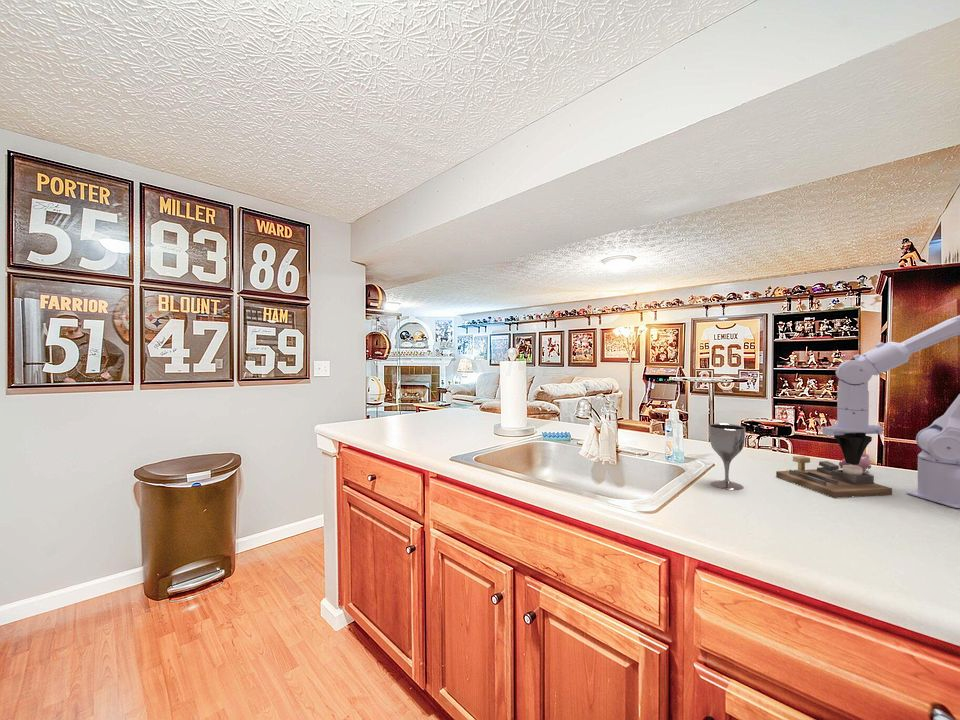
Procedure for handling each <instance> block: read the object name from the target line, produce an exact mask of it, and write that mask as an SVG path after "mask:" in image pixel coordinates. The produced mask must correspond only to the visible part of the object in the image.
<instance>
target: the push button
mask: <svg viewBox="0 0 960 720" xmlns="http://www.w3.org/2000/svg"><path fill="white" fill-rule="evenodd" d="M842 470H843V473H845V474H849V475H852V476H861V475H862V467H859V466H854V465H843V468H842Z"/></svg>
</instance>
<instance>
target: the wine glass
mask: <svg viewBox="0 0 960 720" xmlns="http://www.w3.org/2000/svg"><path fill="white" fill-rule="evenodd" d="M708 437H709V442H710V445H711V448H712V449H713V450H714V452H715V453H716V454H717V455H718V456H719V457H720V459H721V460H722V463H723V466H724V467H723V468H724V480H713V481H711V482H710V485H712V486H713V487H715V488H718V489H723V490H727V491H729V490H730V491H739V490H742V489H744V486H743V485H742V484H740V483H738V482H734V481H730V477H729V475H730V474H729V473H730V466H731V462H732V460H733V459H734V458H736V457H737V456H738V455H739V454H740V453H741V452H742V450H743V448H744V445H745V440H746V427H745V426H743V425H738V424H732V423H711V424H708Z"/></svg>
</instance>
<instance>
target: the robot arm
mask: <svg viewBox="0 0 960 720" xmlns="http://www.w3.org/2000/svg"><path fill="white" fill-rule="evenodd" d="M956 336H960V314H959V315H957V316H954V317H951V318H949V319H946V320H944V321H942V322H939V323H938V324H935V325H934V326H932V327H929V328H927V329H926V330H923V331H922V332H920V333H918V334H915V335H914V336H911V337H910V338H908V339H905V340H904V341H902V342H895V341H888V342H885V343H884V342H883V341H882V342H879V343H877V344H875V347H874V348H872V349H870V350H868V351H866V352H864V353H862V354H859V353H858V354H855V355H853V356H852V357H853V359H849V360H845V361H843V362H841V363H840V364H839V365H838V366H837V368H836V370H835V376H836V378H838V382H837V386H838V388H837V391H836V393H837V394H836V395H837V397H836V398H837V399H836V400H837V402H836V404H837V405H836V406H837V409H836V410H837V411H836V413H837V417H836V420H837V421H836V423H833V425H829V426H822V435H823V436H828V437H834V440H836V442H837V443H838V445H839V447H840V449H841V451H842V453H843V457H844V458H843V459H845V461H846V463H849V464H852V465H859V462H860V459H861V457H862V454H863V453H865V452H864V451H865V450H866V448H867V447H868V445H869V444H870V443H871V442H872V439H873V437H872V436H870V435H873V434H875V435H883V428H884V427H883V426H882V425H875V424H869V422H870V420H869V419H870V417H869V415H870V413H869V411H870V400H869V399H870V391H869V381H870V380H871V378H872V377H873V376H878V375H880V374H884V373H885V372H888V371H890V370H892V369H895V368H897V367H899V366H902V365H904V364H906V363H908V362H909V360H910V357H911V355H913V354H915V353H916V352H919V351H921V350H924V349H926V348H929V347H931V346H934V345H936V344H939V343H941V342H943V341H945V340H949V339H950V338H952V337H956ZM915 442H916V444H917V446H918V447H919V448H920V449H921V451H920V452H919V453H918V454H917V490H907V491H906V494H907V495H911V496H914V497H918V498H921V499H924V500H928V501H931V502H934V503H937V504H941V505H945V506H948V507H951V508H955V509H960V393H959V394H958V395H957V397H956V398H955V399H954V400H953V401H952V403H951V404H950V406H948V408H947V409H946V411H945V412H944V414H942V415H941V416H940V417H937V418H936V419H935V420H933V422H932V423H931V424H930V425H929V426H927V427H924V428H923V429H921V430H920V431H918V432H917V434H916V436H915Z"/></svg>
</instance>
